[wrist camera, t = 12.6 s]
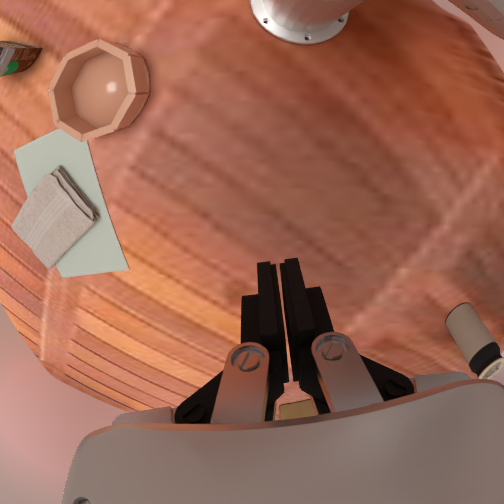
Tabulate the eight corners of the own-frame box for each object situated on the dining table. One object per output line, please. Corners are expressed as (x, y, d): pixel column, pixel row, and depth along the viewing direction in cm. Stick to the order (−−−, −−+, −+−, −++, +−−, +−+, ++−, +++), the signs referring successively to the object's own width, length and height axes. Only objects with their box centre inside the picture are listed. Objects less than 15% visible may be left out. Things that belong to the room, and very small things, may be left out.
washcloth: (104, 213, 41) (96, 222, 39) (54, 266, 46) (47, 276, 44) (59, 159, 36) (48, 164, 33) (16, 223, 41) (7, 230, 39)
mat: (14, 150, 34) (13, 150, 34) (82, 118, 33) (81, 118, 33) (62, 277, 48) (62, 277, 48) (129, 268, 47) (129, 269, 47)
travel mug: (439, 327, 57) (471, 385, 41) (455, 301, 53) (493, 360, 37) (459, 327, 58) (490, 380, 42) (475, 302, 53) (511, 356, 38)
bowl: (64, 65, 29) (42, 65, 24) (142, 32, 28) (127, 25, 23) (79, 143, 35) (59, 152, 31) (157, 119, 34) (144, 124, 30)
